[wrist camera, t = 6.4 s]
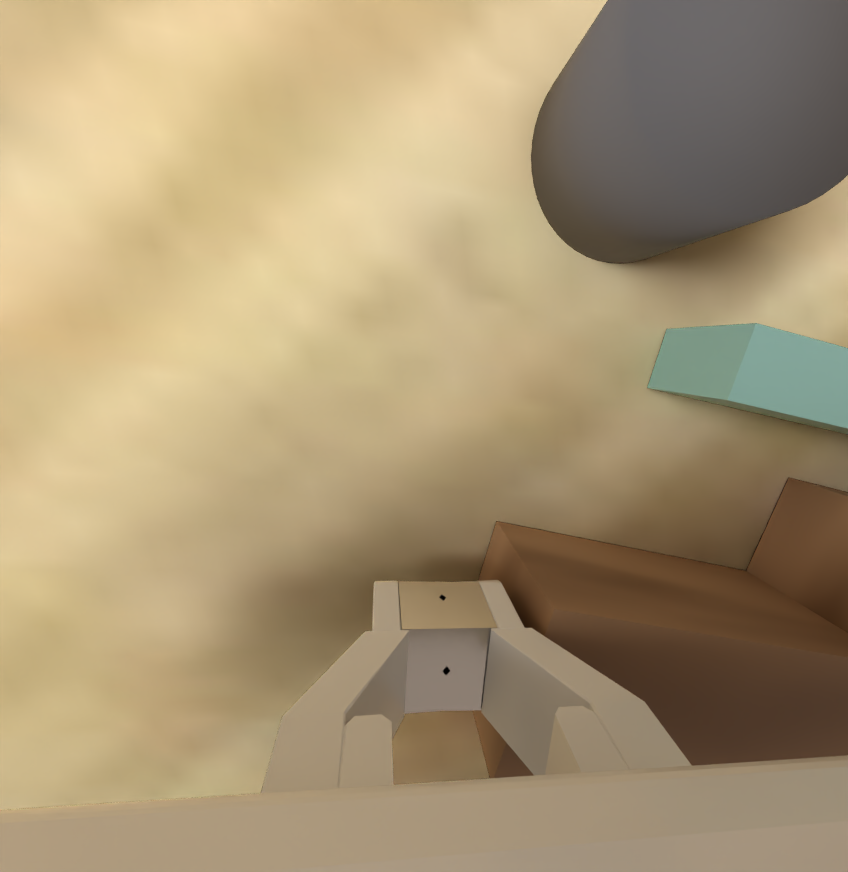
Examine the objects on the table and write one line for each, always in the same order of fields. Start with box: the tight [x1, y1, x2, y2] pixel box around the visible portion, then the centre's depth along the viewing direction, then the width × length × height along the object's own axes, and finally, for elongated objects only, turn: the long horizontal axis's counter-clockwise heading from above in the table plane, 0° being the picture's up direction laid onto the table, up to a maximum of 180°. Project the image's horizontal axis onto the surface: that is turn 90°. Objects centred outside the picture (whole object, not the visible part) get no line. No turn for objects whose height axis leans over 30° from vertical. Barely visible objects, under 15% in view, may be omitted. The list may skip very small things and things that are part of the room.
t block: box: [473, 478, 848, 778], centre depth 10 cm, size 10×11×4 cm
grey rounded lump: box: [531, 0, 848, 263], centre depth 7 cm, size 4×4×4 cm
